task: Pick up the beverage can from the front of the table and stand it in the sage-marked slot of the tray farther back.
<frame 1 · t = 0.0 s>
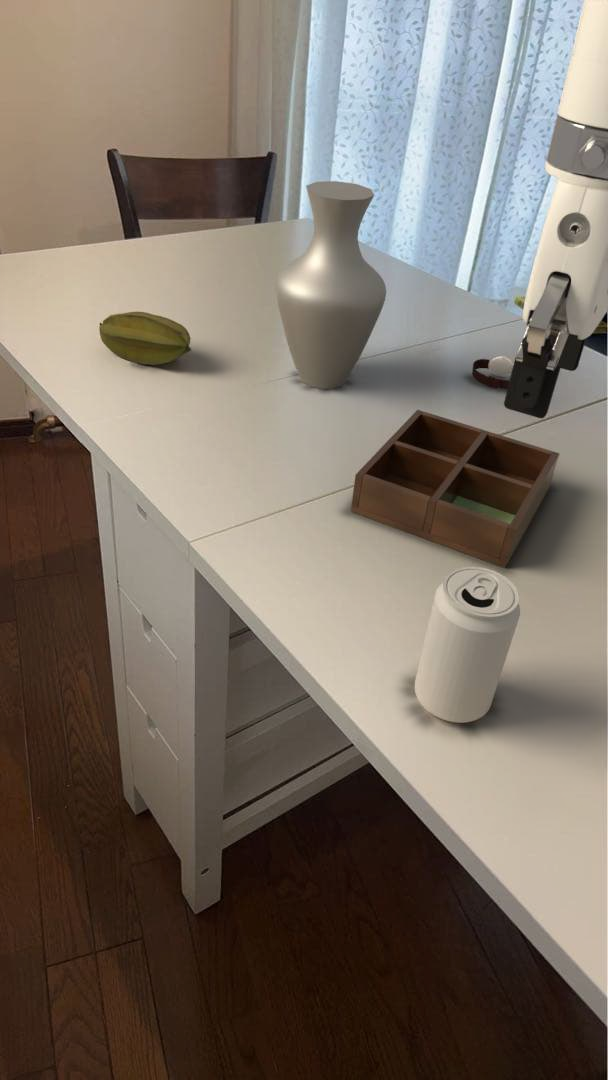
hand: (541, 387, 63), 22 cm above the table, tool pointing down, fingers open, 9 cm apart
fruit: (145, 360, 112), on the table
beverage can: (450, 699, 66), on the table
vase: (322, 379, 112), on the table
watch: (496, 383, 114), on the table
tray: (453, 499, 90), on the table
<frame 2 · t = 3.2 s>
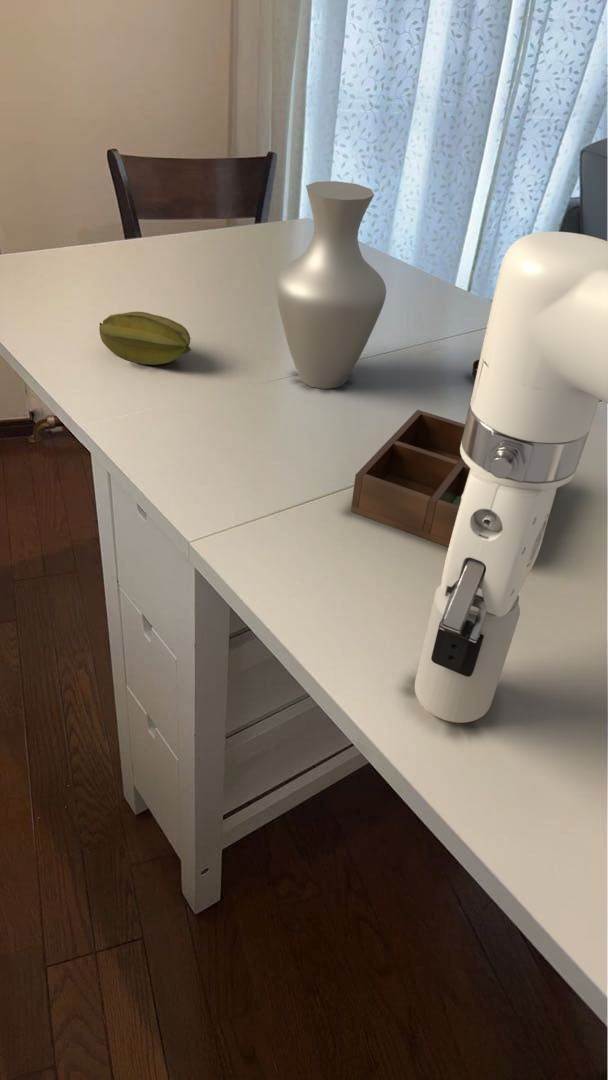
hand: (467, 637, 62), 7 cm above the table, tool pointing down, fingers closed on beverage can, 6 cm apart
beverage can: (450, 699, 66), on the table, touching gripper
everything else where it was.
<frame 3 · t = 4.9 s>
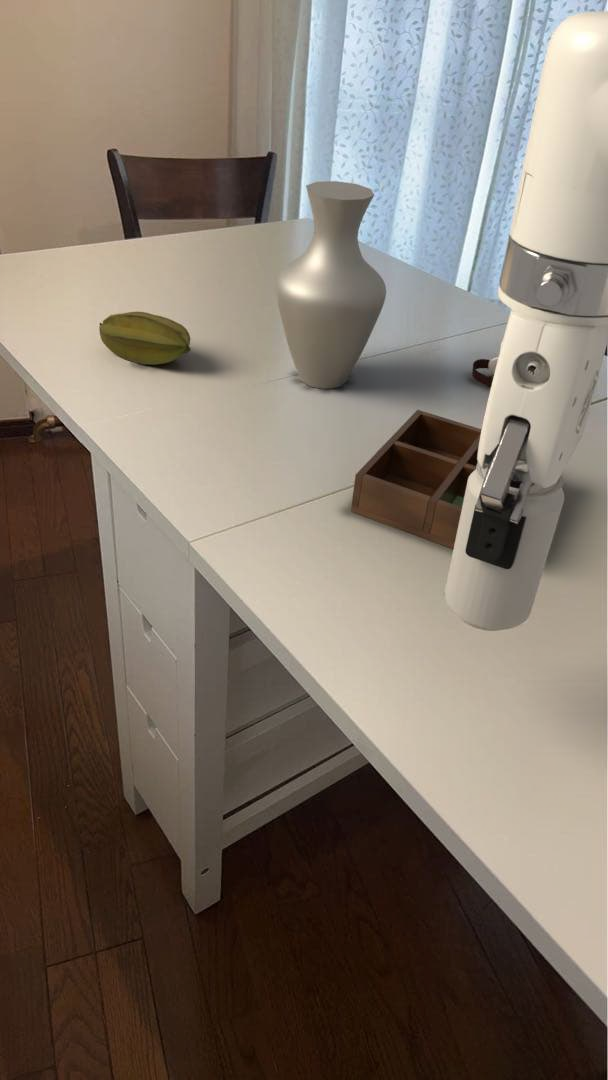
hand: (505, 531, 55), 18 cm above the table, tool pointing down, fingers closed on beverage can, 6 cm apart
beverage can: (485, 609, 60), point 10 cm above the table, touching gripper
everything else where it was.
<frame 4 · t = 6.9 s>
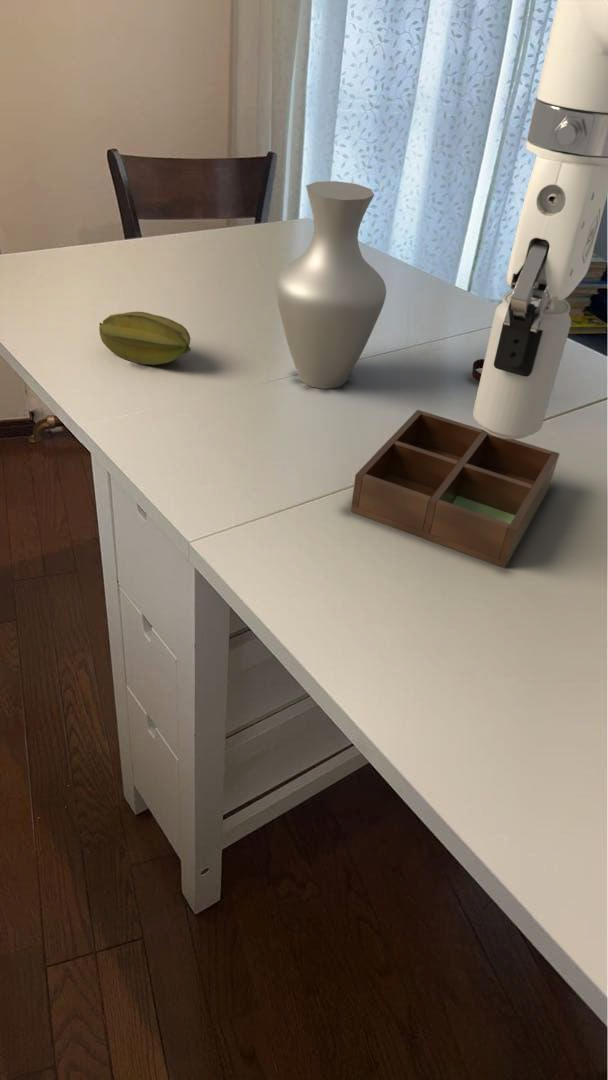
hand: (523, 355, 70), 21 cm above the table, tool pointing down, fingers closed on beverage can, 6 cm apart
beverage can: (505, 427, 75), point 14 cm above the table, touching gripper
everything else where it was.
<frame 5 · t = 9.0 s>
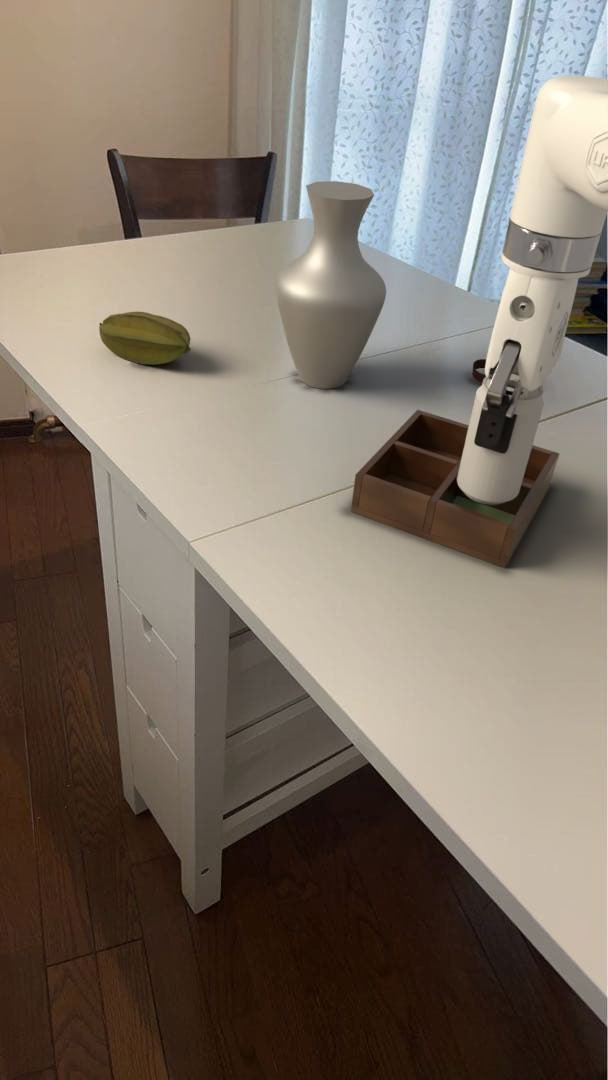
hand: (502, 431, 78), 12 cm above the table, tool pointing down, fingers closed on beverage can, 6 cm apart
beverage can: (486, 492, 82), point 5 cm above the table, touching gripper
everything else where it was.
when the fingers open (8 cm above the table, at t = 10.6 s): beverage can stays where it is, resting on tray.
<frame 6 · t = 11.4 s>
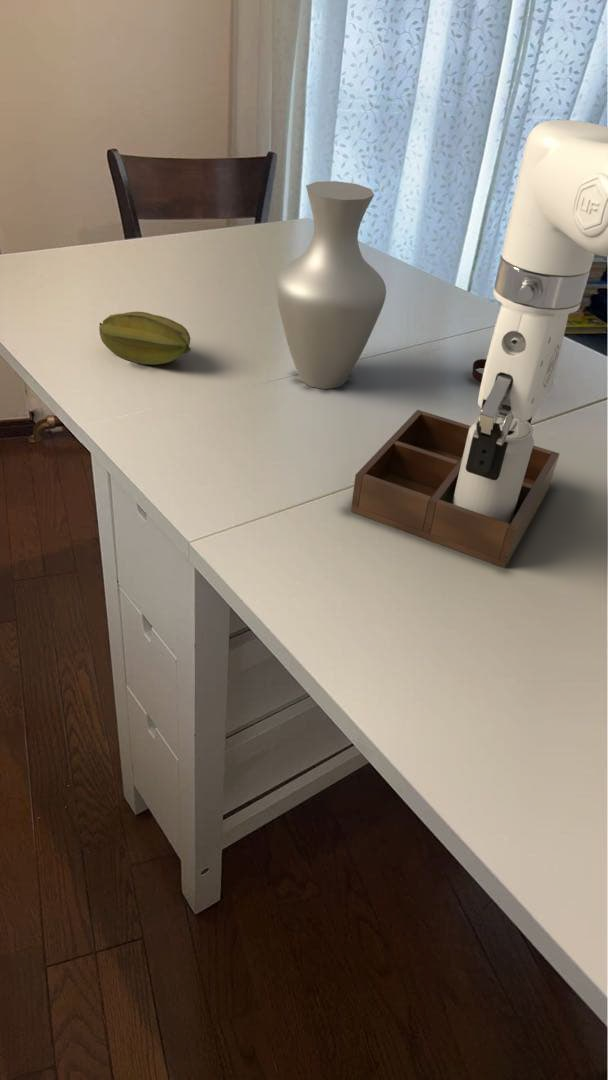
hand: (497, 452, 79), 10 cm above the table, tool pointing down, fingers open, 9 cm apart
beverage can: (478, 524, 85), point 1 cm above the table, touching tray
everything else where it was.
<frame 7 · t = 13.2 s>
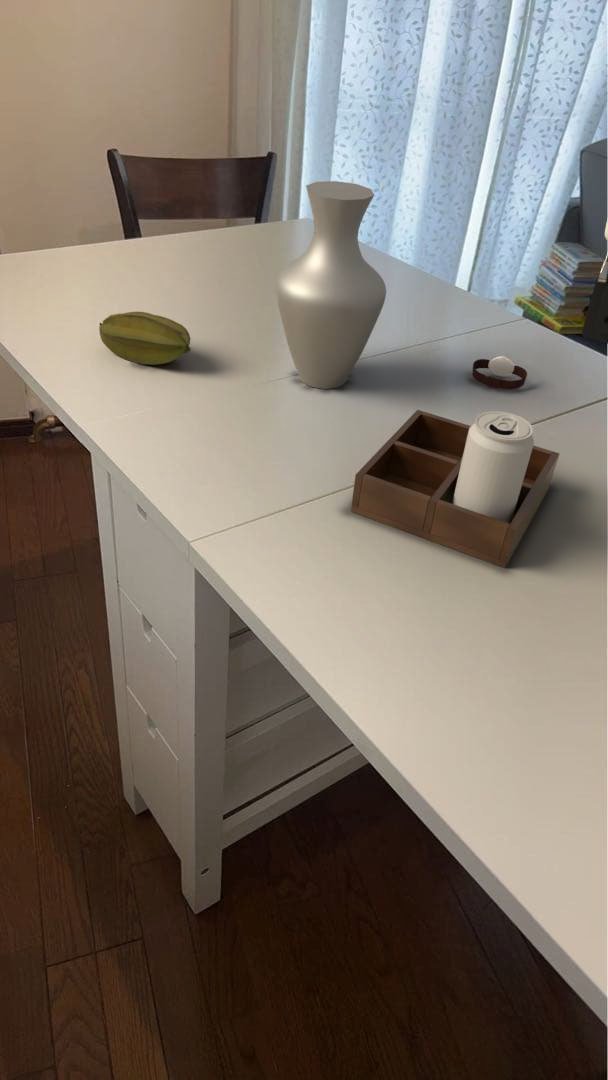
nothing on the table moved.
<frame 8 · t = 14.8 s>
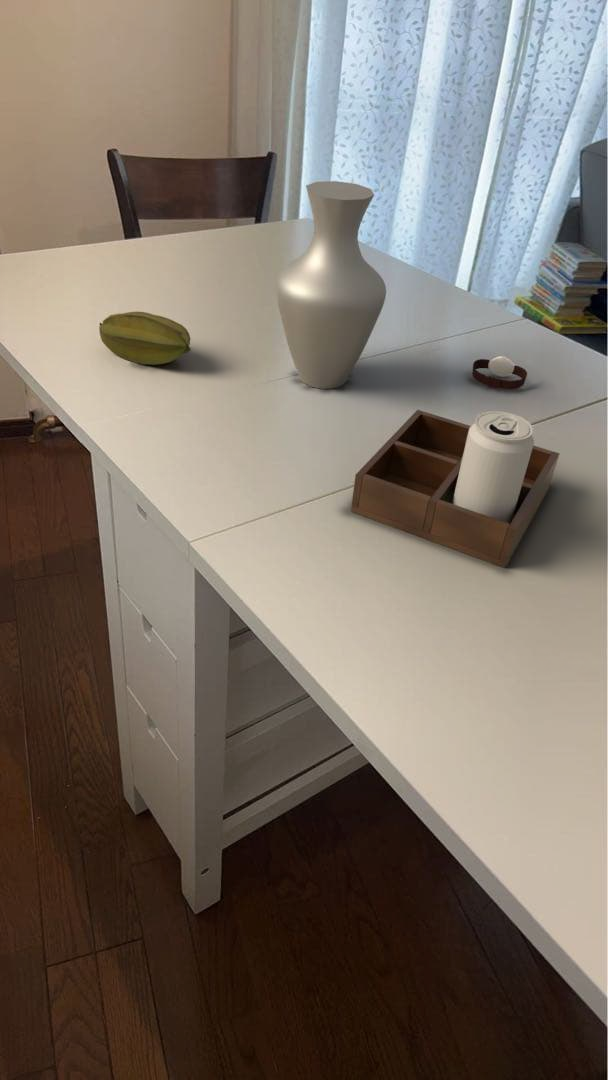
nothing on the table moved.
at the end: beverage can 0.1 cm from the target spot in the tray, point 0.8 cm above the tray's base; beverage can tilted 0°; the gripper is holding nothing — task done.
